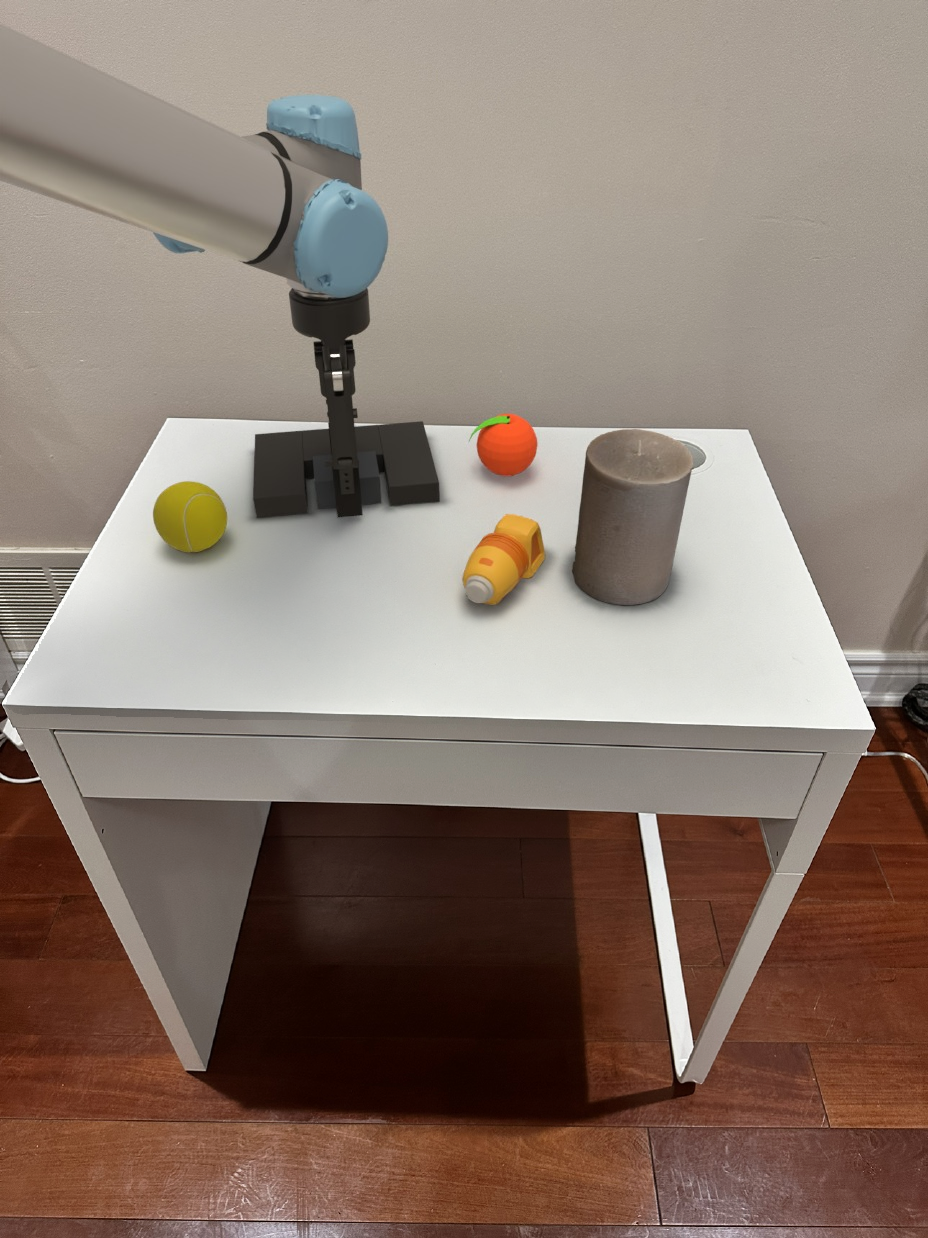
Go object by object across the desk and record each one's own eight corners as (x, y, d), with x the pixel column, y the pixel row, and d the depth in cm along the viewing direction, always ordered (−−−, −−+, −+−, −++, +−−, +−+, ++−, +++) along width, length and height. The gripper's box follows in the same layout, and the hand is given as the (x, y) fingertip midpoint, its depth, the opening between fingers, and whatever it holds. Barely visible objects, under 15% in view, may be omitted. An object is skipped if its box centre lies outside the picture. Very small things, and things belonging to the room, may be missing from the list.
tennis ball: (245, 540, 92) (234, 483, 87) (193, 573, 87) (178, 515, 83) (201, 518, 95) (187, 461, 90) (148, 548, 91) (131, 491, 86)
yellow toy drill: (501, 625, 82) (549, 554, 90) (502, 579, 78) (552, 510, 86) (449, 609, 84) (501, 541, 92) (448, 563, 80) (502, 496, 88)
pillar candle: (552, 568, 88) (563, 435, 78) (623, 535, 93) (642, 405, 83) (618, 620, 82) (640, 482, 72) (691, 582, 87) (721, 448, 77)
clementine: (475, 492, 99) (476, 435, 94) (461, 461, 104) (461, 406, 99) (543, 483, 100) (547, 427, 96) (525, 452, 105) (528, 398, 101)
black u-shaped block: (256, 518, 95) (252, 498, 93) (258, 452, 105) (255, 433, 104) (439, 501, 97) (439, 482, 96) (423, 439, 108) (422, 420, 106)
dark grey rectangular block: (317, 509, 96) (314, 481, 94) (316, 482, 100) (312, 455, 98) (381, 503, 97) (379, 476, 95) (377, 477, 101) (375, 450, 99)
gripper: (376, 323, 76) (389, 543, 90) (360, 250, 92) (373, 447, 106) (288, 328, 75) (316, 549, 89) (287, 254, 91) (311, 452, 105)
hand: (347, 493), depth 97 cm, fingers open, 8 cm apart
